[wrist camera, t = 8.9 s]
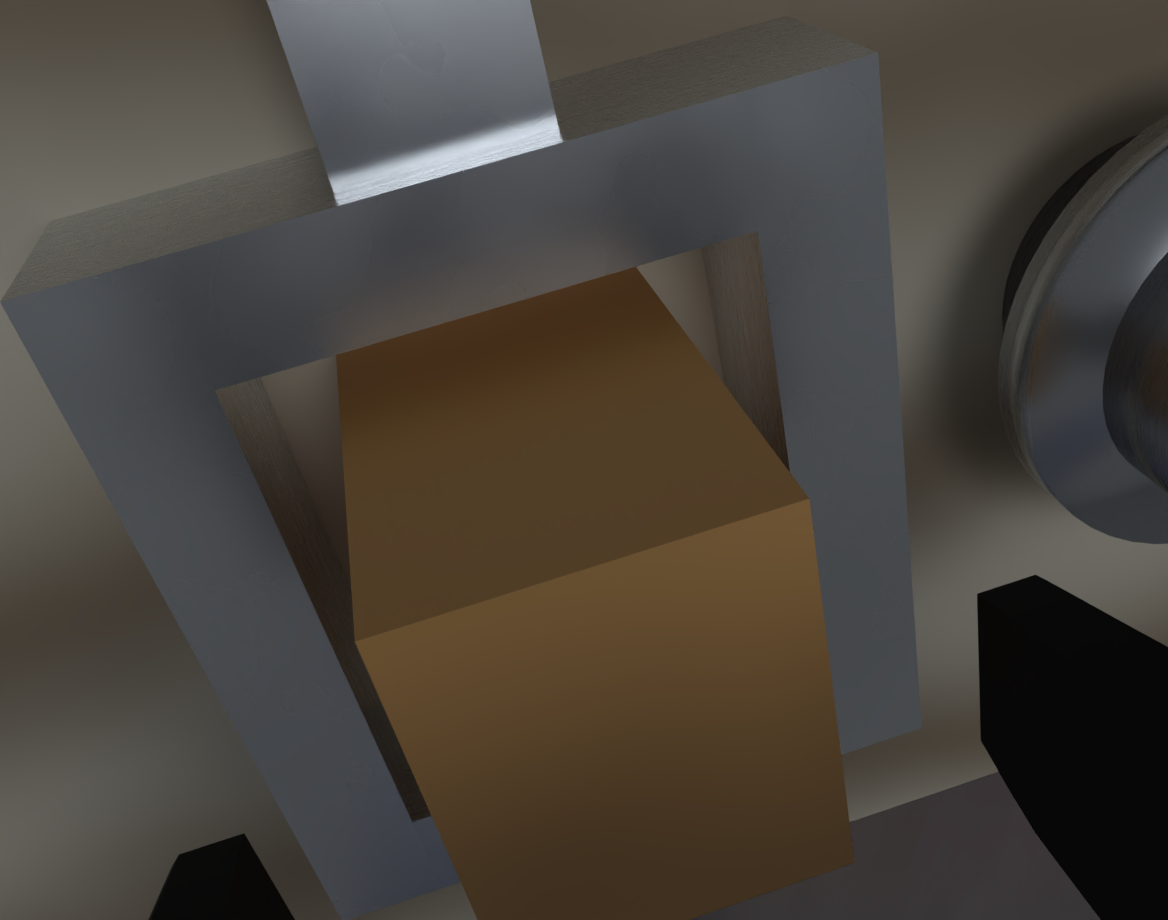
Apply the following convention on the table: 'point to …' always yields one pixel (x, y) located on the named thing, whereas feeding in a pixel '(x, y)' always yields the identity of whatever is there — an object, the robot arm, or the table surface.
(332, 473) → the base board
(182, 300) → the grey rectangular frame
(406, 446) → the cardboard-brown box
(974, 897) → the table surface
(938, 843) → the table surface
